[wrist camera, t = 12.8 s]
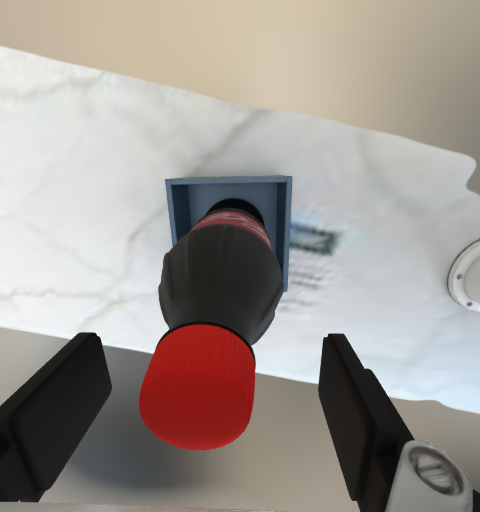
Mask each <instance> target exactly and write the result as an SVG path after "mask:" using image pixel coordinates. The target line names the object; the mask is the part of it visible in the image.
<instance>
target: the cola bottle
mask: <svg viewBox="0 0 480 512" xmlns="http://www.w3.org/2000/svg"><path fill="white" fill-rule="evenodd" d="M284 288H285V284H284V282H283V280H282V273H281V269H280V266H279V263H278V260H277V258H276V256H275V254H274V252H273V251H272V247H271V241H270V238H269V235H268V233H267V231H266V229H265V224H264V220H263V218H262V215H261V214H260V212H259V211H258V209H257V208H256V207H255V206H253V205H252V204H251V203H249V202H247V201H245V200H242V199H237V198H229V199H224V200H222V201H219V202H217V203H216V204H214V205H213V206H212V207H211V208H210V209H209V210H208V212H207V213H206V215H205V216H203V217H202V218H201V219H200V220H199V221H198V222H197V223H196V224H195V225H194V226H193V228H192V230H191V231H190V232H189V233H188V234H186V235H185V236H183V237H182V238H181V239H180V240H179V241H178V242H177V243H176V244H175V245H174V246H173V248H172V249H171V250H170V252H168V253H166V254H165V256H164V260H163V269H162V276H161V283H160V285H159V288H158V292H159V301H160V307H161V311H162V314H163V317H164V320H165V322H166V323H167V325H168V326H169V329H170V330H168V331H167V332H166V333H165V334H164V335H163V336H162V338H161V339H160V341H159V342H158V344H157V347H156V350H155V352H154V354H153V357H152V359H151V362H150V364H149V367H148V369H147V372H146V375H145V378H144V381H143V384H142V388H141V392H140V396H139V410H140V414H141V417H142V419H143V421H144V423H145V424H146V426H147V427H148V428H149V430H150V431H151V432H152V433H154V435H156V436H157V437H158V438H159V439H161V440H163V441H164V442H166V443H169V444H171V445H173V446H176V447H179V448H182V449H189V450H209V449H216V448H219V447H222V446H225V445H226V444H228V443H231V442H232V441H234V440H235V439H236V438H238V437H239V436H240V435H241V434H242V433H243V432H244V430H245V429H246V427H247V425H248V423H249V421H250V417H251V413H252V408H253V401H254V388H255V366H256V362H255V355H254V352H253V349H252V347H251V345H253V344H255V343H256V342H257V341H258V340H259V339H260V338H261V337H262V336H263V334H264V333H265V332H266V330H267V329H268V328H269V326H270V324H271V322H272V321H273V319H274V316H275V309H276V307H277V305H278V302H279V300H280V298H281V296H282V294H283V292H284Z"/></svg>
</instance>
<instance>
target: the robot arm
mask: <svg viewBox="0 0 480 512" xmlns="http://www.w3.org/2000/svg"><path fill="white" fill-rule="evenodd" d="M448 285H449V291H450V293H451V296H452V297H453V298H454V300H455V301H456V302H457V303H459V304H460V305H462V306H463V307H465V308H467V309H469V310H472V311H477V312H480V240H479V241H478V242H476V243H474V244H473V245H471V246H470V247H468V248H467V249H466V250H465V251H464V252H463V253H462V254H461V255H460V256H459V257H458V259H457V260H456V261H455V263H454V265H453V267H452V268H451V271H450V274H449V280H448ZM111 389H112V384H111V380H110V376H109V371H108V368H107V364H106V359H105V355H104V351H103V346H102V342H101V339H100V337H99V336H97V334H96V333H93V332H81V333H78V334H77V335H76V336H75V337H74V338H73V339H72V340H71V341H70V342H69V343H67V344H66V345H65V346H64V347H63V348H62V349H61V350H60V351H59V352H58V353H57V354H56V355H55V356H53V357H52V358H51V359H50V360H49V361H48V362H47V363H46V364H45V365H44V366H43V367H42V368H41V369H40V370H38V371H37V372H36V373H35V374H34V375H33V376H32V377H31V378H30V379H29V380H28V381H27V382H26V383H25V384H23V385H22V386H21V387H20V388H19V389H18V390H17V391H16V392H15V393H14V394H13V395H12V396H11V397H10V398H9V399H7V400H6V401H5V402H4V403H3V404H2V405H1V406H0V512H283V511H259V510H237V509H212V508H187V507H161V506H133V505H132V506H131V505H104V504H70V503H68V504H67V503H38V502H39V500H40V498H41V497H42V495H43V493H44V492H45V491H46V490H48V489H50V488H51V487H52V485H53V484H54V482H55V481H56V479H57V478H58V476H59V474H60V473H61V471H62V470H63V468H64V467H65V465H66V463H67V462H68V460H69V458H70V457H71V455H72V454H73V452H74V451H75V449H76V448H77V446H78V444H79V443H80V441H81V440H82V438H83V436H84V435H85V433H86V432H87V430H88V429H89V427H90V425H91V424H92V422H93V421H94V419H95V418H96V416H97V414H98V413H99V411H100V410H101V408H102V406H103V405H104V403H105V401H106V400H107V398H108V397H109V395H110V393H111ZM318 392H319V398H320V401H321V404H322V408H323V411H324V414H325V417H326V421H327V424H328V427H329V431H330V434H331V437H332V440H333V444H334V447H335V450H336V453H337V457H338V460H339V463H340V466H341V470H342V473H343V476H344V479H345V482H346V486H347V489H348V492H349V495H350V498H351V500H352V501H357V503H358V506H359V509H360V512H480V493H478V492H477V491H475V490H473V489H472V485H471V481H470V479H469V477H468V475H467V473H466V472H465V470H464V469H463V468H462V467H461V465H460V464H459V463H458V462H457V461H456V460H455V459H454V458H453V457H452V456H451V455H450V454H449V453H447V452H446V451H444V450H443V449H441V448H440V447H438V446H436V445H434V444H431V443H429V442H426V441H421V440H415V439H414V438H413V436H412V434H411V433H410V431H409V430H408V428H407V426H406V425H405V423H404V422H403V420H402V418H401V417H400V415H399V413H398V412H397V410H396V408H395V407H394V405H393V404H392V402H391V400H390V399H389V397H388V396H387V394H386V392H385V391H384V389H383V387H382V386H381V384H380V383H379V381H378V379H377V378H376V376H375V375H374V373H373V372H372V370H370V369H364V367H363V365H362V364H361V362H360V360H359V358H358V357H357V355H356V353H355V352H354V350H353V348H352V346H351V345H350V343H349V341H348V340H347V338H346V336H345V335H344V334H328V337H324V339H323V347H322V357H321V367H320V377H319V387H318ZM19 500H20V502H18V501H19Z"/></svg>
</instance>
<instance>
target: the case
mask: <svg viewBox="0 0 480 512" xmlns="http://www.w3.org/2000/svg"><path fill="white" fill-rule="evenodd" d="M165 183H166V191H167V200H168V209H169V218H170V226H171V235H172V244H173V246H174V245H175V244H176V243H177V242H178V241H179V240H180V239H181V238H182V237H183V236H185V235H186V234H188V233H189V232H190V231H191V230H192V228H193V226H194V225H195V224H196V223H197V222H198V221H199V220H200V219H201V218H202V217H203V216H205V215H206V213H207V212H208V210H209V209H210V208H211V207H212V206H213V205H214V204H216V203H217V202H219V201H222V200H224V199H229V198H237V199H242V200H245V201H247V202H249V203H251V204H252V205H253V206H255V207H256V208H257V209H258V211H259V212H260V214H261V215H262V218H263V220H264V224H265V229H266V231H267V233H268V235H269V238H270V241H271V247H272V251H273V252H274V254H275V256H276V258H277V260H278V263H279V266H280V269H281V273H282V280H283V282H284V284H285V288H284V292H287V288H288V265H289V242H290V219H291V195H292V176H282V175H277V176H234V177H192V178H175V179H165Z"/></svg>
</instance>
